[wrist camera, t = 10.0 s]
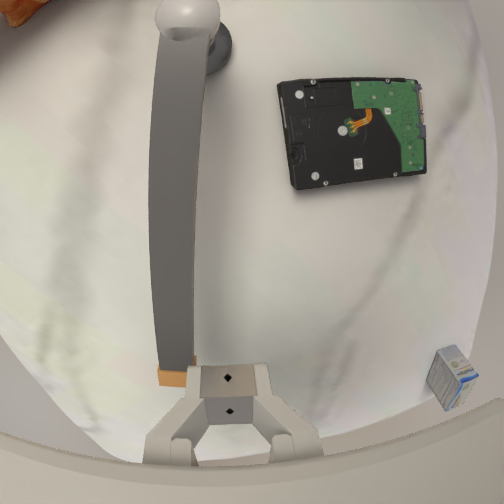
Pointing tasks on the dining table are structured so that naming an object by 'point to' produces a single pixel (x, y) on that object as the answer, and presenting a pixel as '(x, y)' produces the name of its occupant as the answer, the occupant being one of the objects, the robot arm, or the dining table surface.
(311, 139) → the disk drive
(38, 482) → the robot arm
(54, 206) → the dining table surface
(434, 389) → the medicine box
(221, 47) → the pivot post
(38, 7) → the ceramic vessel
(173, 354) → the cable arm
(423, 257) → the dining table surface
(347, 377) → the dining table surface
